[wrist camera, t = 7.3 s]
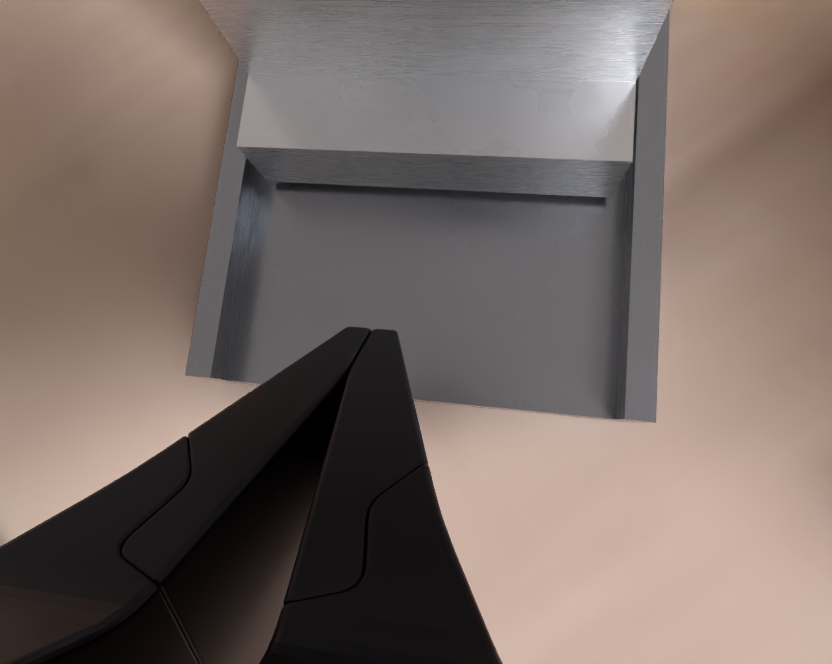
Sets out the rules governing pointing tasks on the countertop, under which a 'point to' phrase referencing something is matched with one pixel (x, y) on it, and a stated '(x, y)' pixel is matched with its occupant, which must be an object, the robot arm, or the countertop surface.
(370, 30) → the block
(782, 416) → the countertop surface
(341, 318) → the tray
